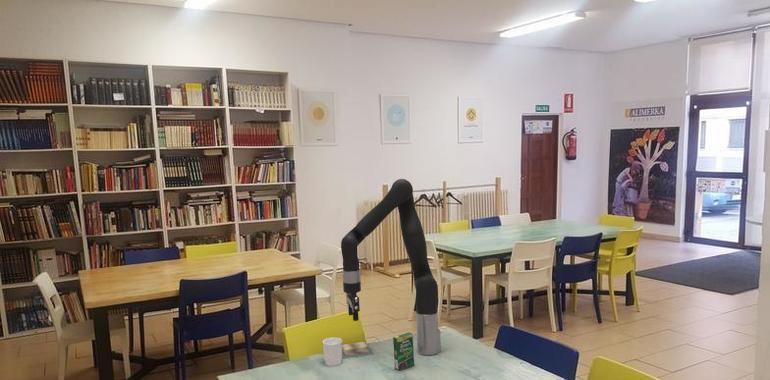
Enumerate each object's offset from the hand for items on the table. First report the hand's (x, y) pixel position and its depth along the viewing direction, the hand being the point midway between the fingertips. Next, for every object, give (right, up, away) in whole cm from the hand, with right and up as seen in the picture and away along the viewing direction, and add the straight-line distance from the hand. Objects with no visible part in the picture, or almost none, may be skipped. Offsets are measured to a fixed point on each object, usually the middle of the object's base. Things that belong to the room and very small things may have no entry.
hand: (353, 317), depth 209 cm
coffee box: (+21, -16, -15) cm, 31 cm away
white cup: (-7, -17, -10) cm, 21 cm away
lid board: (+1, -15, +1) cm, 15 cm away
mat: (+1, -16, +1) cm, 16 cm away
